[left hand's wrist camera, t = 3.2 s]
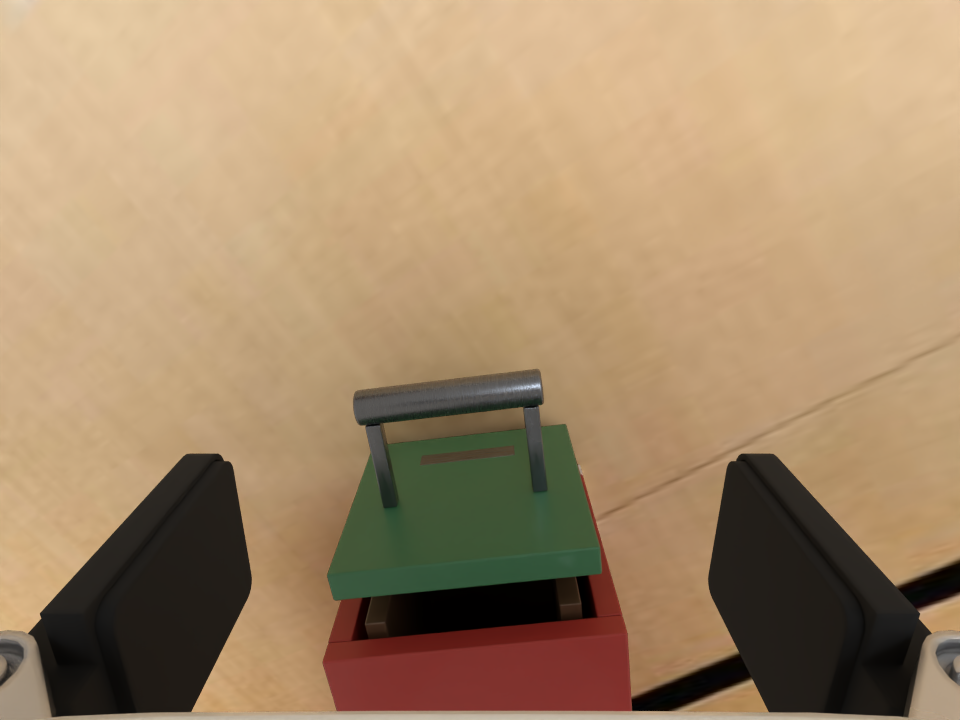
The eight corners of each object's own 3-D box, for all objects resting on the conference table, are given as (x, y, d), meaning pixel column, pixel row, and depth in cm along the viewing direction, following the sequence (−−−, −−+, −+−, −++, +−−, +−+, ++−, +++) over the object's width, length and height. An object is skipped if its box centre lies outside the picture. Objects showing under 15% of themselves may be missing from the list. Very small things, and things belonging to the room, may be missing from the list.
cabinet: (375, 486, 32) (320, 662, 21) (580, 464, 31) (628, 633, 21) (432, 739, 39) (413, 968, 28) (601, 725, 38) (646, 953, 28)
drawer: (351, 348, 28) (289, 447, 19) (557, 323, 28) (590, 413, 19) (430, 705, 36) (412, 888, 27) (590, 691, 36) (624, 873, 27)
